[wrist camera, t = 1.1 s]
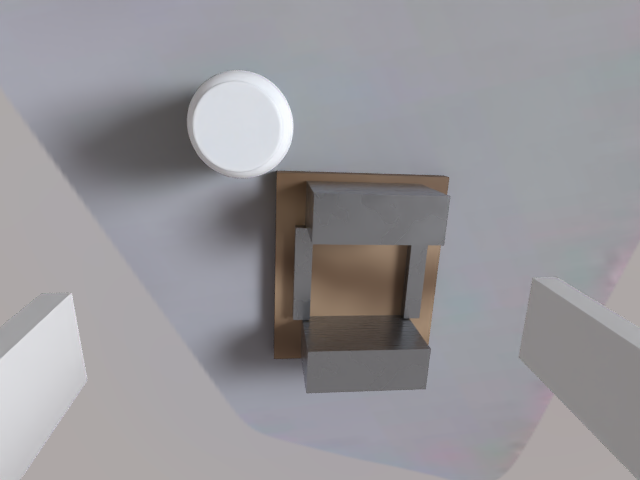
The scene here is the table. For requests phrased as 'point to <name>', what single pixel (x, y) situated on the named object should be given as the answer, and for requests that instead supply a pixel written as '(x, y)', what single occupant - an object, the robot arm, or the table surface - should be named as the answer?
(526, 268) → the table surface
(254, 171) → the supplement bottle
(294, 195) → the mount board
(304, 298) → the grey rectangular frame
